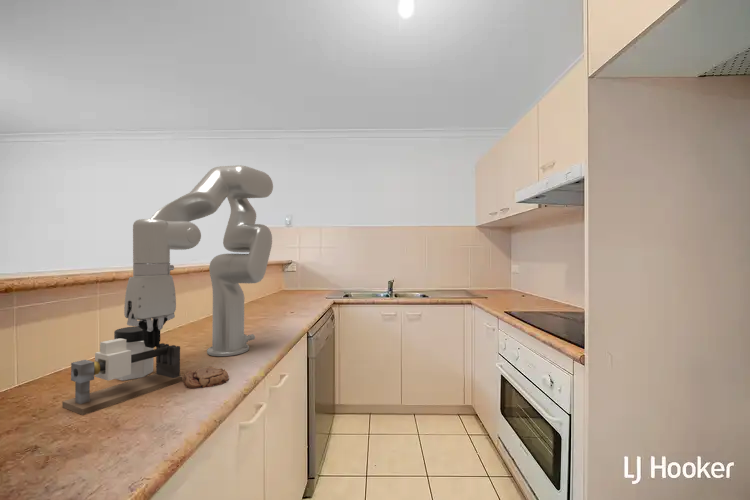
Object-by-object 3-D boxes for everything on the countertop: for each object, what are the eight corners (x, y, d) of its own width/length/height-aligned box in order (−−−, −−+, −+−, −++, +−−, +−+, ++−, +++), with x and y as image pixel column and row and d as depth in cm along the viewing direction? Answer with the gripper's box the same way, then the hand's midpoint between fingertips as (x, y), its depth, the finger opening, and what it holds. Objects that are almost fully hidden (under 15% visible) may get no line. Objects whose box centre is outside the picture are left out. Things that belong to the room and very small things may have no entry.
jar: (110, 383, 86) (111, 334, 87) (112, 373, 93) (113, 328, 93) (153, 376, 91) (154, 329, 92) (153, 367, 98) (153, 324, 98)
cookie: (222, 388, 84) (222, 376, 84) (175, 390, 83) (175, 377, 83) (234, 374, 94) (234, 363, 94) (192, 376, 93) (192, 364, 93)
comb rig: (162, 375, 92) (162, 339, 92) (182, 380, 88) (182, 343, 88) (62, 407, 73) (62, 361, 73) (82, 415, 69) (83, 367, 69)
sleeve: (117, 370, 81) (117, 337, 81) (131, 374, 79) (131, 339, 79) (94, 376, 77) (95, 341, 77) (108, 380, 75) (108, 344, 75)
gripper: (171, 268, 94) (172, 337, 94) (108, 272, 80) (108, 352, 81) (190, 269, 90) (190, 341, 91) (127, 273, 77) (128, 357, 77)
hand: (152, 346), depth 86 cm, fingers closed
